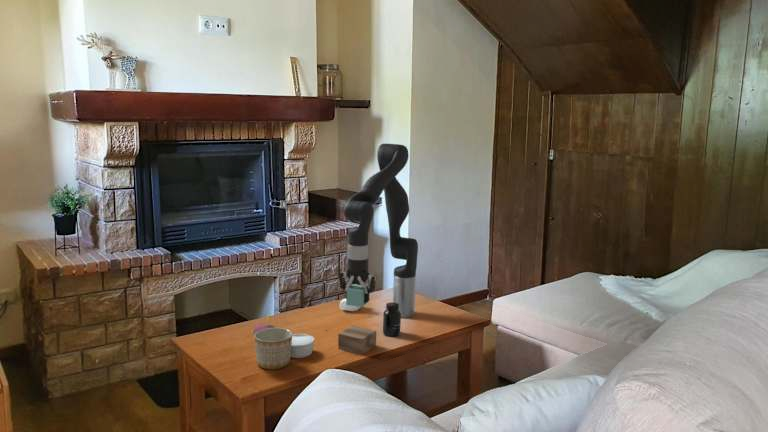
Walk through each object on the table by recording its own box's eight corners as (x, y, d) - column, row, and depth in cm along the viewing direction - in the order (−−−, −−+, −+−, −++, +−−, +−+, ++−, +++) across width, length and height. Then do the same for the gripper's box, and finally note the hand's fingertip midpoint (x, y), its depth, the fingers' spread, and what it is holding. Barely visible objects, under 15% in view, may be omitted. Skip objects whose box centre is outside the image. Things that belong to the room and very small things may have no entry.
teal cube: (352, 300, 222) (352, 284, 221) (367, 302, 220) (368, 286, 219) (346, 304, 217) (346, 288, 216) (362, 306, 215) (362, 290, 214)
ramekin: (313, 346, 221) (313, 332, 220) (316, 358, 210) (316, 344, 209) (282, 348, 219) (281, 334, 218) (283, 360, 208) (283, 346, 207)
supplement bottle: (398, 337, 231) (399, 307, 229) (381, 336, 232) (381, 306, 230) (401, 331, 238) (402, 302, 235) (384, 329, 239) (385, 300, 237)
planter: (248, 361, 207) (248, 332, 205) (282, 353, 214) (282, 325, 212) (264, 374, 197) (263, 344, 195) (298, 365, 204) (298, 336, 202)
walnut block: (353, 340, 228) (353, 325, 227) (376, 346, 223) (376, 330, 222) (338, 349, 219) (338, 333, 218) (361, 355, 214) (361, 339, 213)
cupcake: (280, 340, 226) (280, 309, 224) (268, 348, 218) (268, 316, 216) (260, 337, 229) (259, 306, 226) (248, 345, 221) (247, 313, 219)
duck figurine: (341, 317, 258) (350, 302, 251) (333, 303, 262) (342, 287, 255) (364, 312, 265) (373, 297, 258) (356, 298, 269) (365, 283, 262)
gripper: (380, 256, 217) (379, 301, 220) (343, 252, 221) (342, 296, 224) (373, 261, 210) (372, 307, 213) (335, 256, 214) (334, 302, 217)
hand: (357, 301), depth 219 cm, fingers closed on teal cube, 6 cm apart
